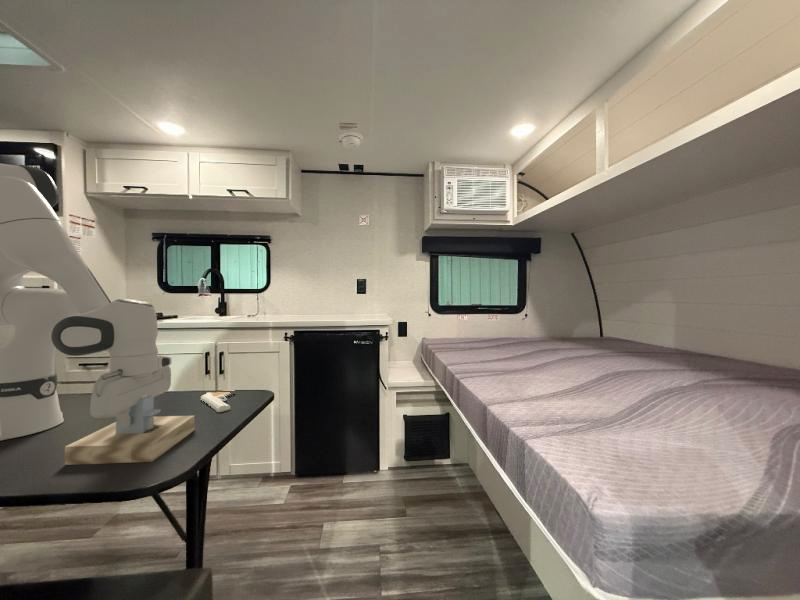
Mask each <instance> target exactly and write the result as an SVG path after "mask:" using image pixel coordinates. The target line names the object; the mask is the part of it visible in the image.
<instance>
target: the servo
mask: <svg viewBox="0 0 800 600" xmlns="http://www.w3.org/2000/svg"><path fill="white" fill-rule="evenodd" d="M154 398H155V397H154V396H147V394H144V395H141V399H139V401H138V404H137V405H135V406H132V407H130V412H128V413H129V415H130V417H134V420H133V421H134V423H133V424H132V425H130V426H128V427H122V426H121V420H120V419H119V417H118V416H117V415H116V414H115V415H112V416H110V417H109V418H116V419H115V422H116V434H135V433H144V432H146V431H148V430H150V429H152V428H153V427H154V417H155V415H157V414H159V413H161V411H162V410H161V409H160V408H157V409H156V408H155V409H154Z"/></svg>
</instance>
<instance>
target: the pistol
mask: <svg viewBox="0 0 800 600" xmlns="http://www.w3.org/2000/svg"><path fill="white" fill-rule="evenodd" d="M221 391H236V390H234V389H230V388H225V389H223V390H221ZM229 394H231V393H230V392H219V391H217V392H208V391H207V392H206V394H202V395H201V396H200V401H201V400H202V401H201V402H203V401H204V402H205V403H204V402H203V403H204V404H206V403H207V404H208V405H207V404H206V405H207V406H209V407H210V406H211V407H210V408H212V409H213V410H215V412H216V413H222V412H223V413H224V412H226V411H229V410H230V409H231V406H230V405H229V404H227V403H226V402H227V401H228V397H227V398H226V397H225V396H227V395H229ZM222 398H224V399H222ZM226 400H227V401H226ZM223 401H226V402H223Z"/></svg>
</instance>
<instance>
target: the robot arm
mask: <svg viewBox="0 0 800 600" xmlns="http://www.w3.org/2000/svg"><path fill="white" fill-rule="evenodd" d="M59 200H60V195H59V190H58V187H57V185H56V183H55V181H54V180H53V178H52V176H50V174H49V173H47V172H46V171H44V170H43V169H42V168H38V167H34V166H29V165H25V164H19V165H17V164H15V165H14V164H7V163H1V162H0V329H14V332H13V336H12V337H11V339H10V340H9V341H8V342H7V343H5V344H2V345H0V442H1V441H4V440H10V439H14V438H19V437H24V436H29V435H32V434H36V433H40V432H44V431H46V430H49V429H52V428H54V427H56V426H59V425H61V424H63V422H64V421H65V419H64V417H63V415H64V414H63V411H61V410H62V409H61V407H60V401H59V396H58V391H57V386H58V374H57V373H56V372H55V369H56V366H55V364H56V351H57V350H58V351H59V352H60V353H62V354H65V355H67V356H73V357H79V356H80V357H85V356H90V355H94V354H97V353H98V354H99V353H101V352H102V353H103V352H108V353H109V364H110V365H109V369H110V370H109V371H110V372H108V373H107V372H106V373H103V374H101V375H99V377H98V378H97V380H96V381H95V382H94V385H93V388H92V391H91V394H90V395H91V397H90V403H89V404H90V405H89V414H90V416H91V417H93V419H95V418H96V419H97V418H99V419H101V418H105V419H106V418H111V417H110V416H112V415H115V414H116V415H117V416H118V417H119V419H120V420H121V426H122V427H128V426H130V425H132V424H133V423H134V421H133V420H134V417H130V415H129V413H128V412H130V407H132V406H135V405H137V404H138V401H139V399H141V395H144V394H147V396H154V398H155V397H157V396H159V395H161V394H164V393H166V392H168V391H169V390H170V388H171V385H172V369H171V365H172V357H170V356H165V355H159V349H158V347H157V342H156V341H157V337H158V333H159V331H158V320H157V319H158V317H157V313H156V312H157V311H156V310H155V309H156V308H155V306H153V304H152V303H150V302H148V301H144V300H138V299H128V298H117V299H114V300H112V301H111V300H110V298H109V296H108V295H107V294H106V292H105V291H104V289H103V287H102V286H101V284H100V283H99V281H98V280H97V279H96V277H95V275H94V274H93V272H92V271H91V270H90V268H89V266H88V265H87V264H86V263H85V261H84V259H83V258H82V256H81V255H80V253H79V252H78V250H77V249H76V247H75V245H74V243H73V241H72V239H71V237H70V236H69V234H68V231H67V230H66V229H65V227H64V226H63V223H62V222H61V219H60V218H59V216H58V215H57V213H56V212H55V210H54V209H53V208H54V207H55V206H56V205H57V204H58V203H59ZM31 272H34V273H36V274H39V275H41V276H43V277H46V278H48V279H49V280H52V281H53V282H54V283H56V284H57V285H58V286H60V287H61V289H59V288H52V287H51V288H50V287H48V288H47V287H45V288H44V287H43V288H42V287H38V288H37V287H29V288H28V287H25V286H24V284H23V283H24V281H23V278H24V275H27V274H28V273H31Z"/></svg>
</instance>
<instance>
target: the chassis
mask: <svg viewBox="0 0 800 600" xmlns="http://www.w3.org/2000/svg"><path fill="white" fill-rule="evenodd" d="M195 417H196V416H195V415H167V416H166V415H165V416H154V427H153V428H152V429H150V430H148V431H146V432H144V433H135V434H116V421H114V422H112V423H110V424H109V425H106V426H105V427H103V428H100V429H98V430H96V431H94V432H92V433H90V434H88V435H86V436H84V437H81V438H80V439H78V440H76V441H74V442H71V443H70V444H66V446H64V465H65V466H69V465H70V466H71V465H72V466H73V465H95V464H96V465H97V464H98V465H99V464H124V463H125V464H126V463H149V462H151V463H152V462H154V461H155V460H157V459H158V458H159V457H161V456H162V455H163V454H164V453H166V452H167V451H168V450H170V449H171V448H173V447H174V446H175V445H177V444H178V443H179V442H181V441H183V439H184V438H186V437H187V436H189V435H190V434H191V433H193V432H194V431H195V429H196V428H195V427H196V425H195V423H196V421H195V420H196V419H195Z"/></svg>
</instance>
